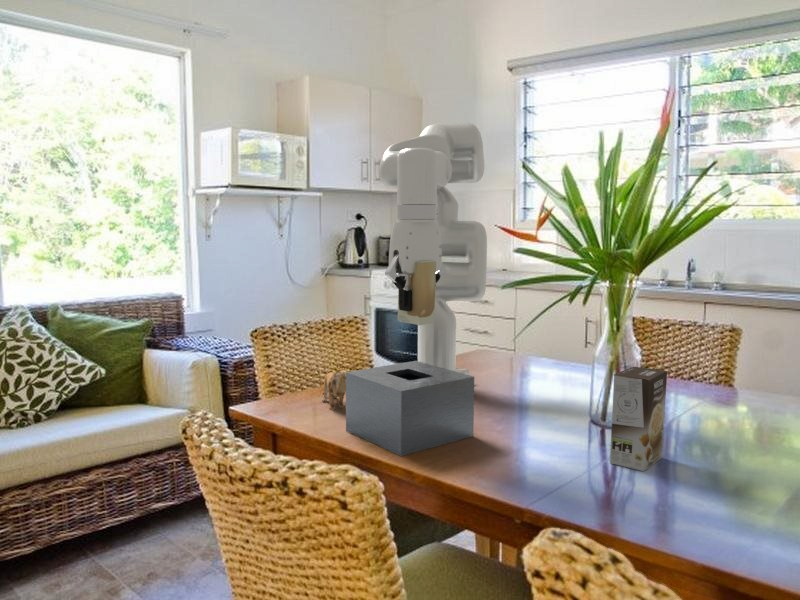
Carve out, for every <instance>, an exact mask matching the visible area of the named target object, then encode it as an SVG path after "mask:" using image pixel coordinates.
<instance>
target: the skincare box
mask: <svg viewBox="0 0 800 600" xmlns="http://www.w3.org/2000/svg"><path fill="white" fill-rule="evenodd" d="M435 280H436V261H421V262H417V267H416V273H415V274H413V275H412V279H411V284H410V289H409V290H411V291H412V310H411V311H403V310H400V309H399V290H398V289H397V290H398V293H397V294H398V296H397V322H400V323H406V324H411V325H417V326H418V325H425V324H431V323H434V310H435ZM404 281H405V277H404Z"/></svg>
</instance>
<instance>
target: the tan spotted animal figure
mask: <svg viewBox="0 0 800 600" xmlns="http://www.w3.org/2000/svg"><path fill="white" fill-rule="evenodd" d="M346 372H348V371H347V370H338V371H337V372H329V373H327V374H326V375H325V376H324V380H323V381H324V382H323V392H322V395H323V399H322V401H321V402H322V403H327V402H328V398H329V407H328V409H329V410H335V409H336V408H335V402H334V401H335V400H334V399H337V398H339V401H338V407H339V408H346V404H344V397H345V396H346Z"/></svg>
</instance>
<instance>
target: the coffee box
mask: <svg viewBox="0 0 800 600" xmlns="http://www.w3.org/2000/svg"><path fill="white" fill-rule="evenodd" d="M613 376H614V378H613V392H612V393H613V394H612V395H613V396H612V412H611V429H610V432H611V433H610V450H609V451H610V453H609V463H610V464H613V465H616V466H620V467H625V468H629V469H633V470H637V471H641V472H645V471H646V470H648V469H649V468H650V467H651V466H653V465H654V464H656V463H657V462H658V461H660V460H661V459H662V458H663V448H664V432H665V415H666V413H665V412H666V398H667V397H666V396H667V395H666V394H667V383H668V382H667V380H668V371H667V370H663V369H656V368H649V367H640V366H632V367H629V368H626V369H623V370H622V371H619V372H616V373H614V374H613Z"/></svg>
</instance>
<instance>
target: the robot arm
mask: <svg viewBox="0 0 800 600" xmlns="http://www.w3.org/2000/svg"><path fill="white" fill-rule="evenodd" d="M482 138H483V137H482V134H481V131H480V130H479V128H478V127H477V126H476V125H475V124H474V123H471V122H459V123H457V122H448V123H447V122H446V123H445V122H444V123H442V122H440V123H433V124H430V125H428V126H426V127H424V129H423V130H422V131H421V133H420V134H419V136H416V137H413V138H409V139H406V140H402V141H399V142H396V143H393V144H391V145H390V146H389V147H387V149H386V150H385V151H384V153H383V155H382V157H381V160H380V162H379V163H380V164H379V177H380V180H381V182H382V184H383V185H384V187H386V188H388V189H392V190H397V191H396V193H397V195H396V199H397V201H396V202H397V205H396V206H397V207H396V221H394V222H393V223H392V224H393V225H392V228H391V233H390V240H389V250H388V266H387V268H386V270H385V272H384V275H385V276H386V278H388V279H389V280H390V281H391V282H392V283H393V284H394V286H395V288H396V290H399V309H400V310H403V311H411V310H412V291H411V290H409V289H410V284H411V279H412V275H413V274H415V273H416V267H417V262H421V261H436V280H435V310H434V323H431V324H425V325H417V361H419V362H422V363H426V364H430V365H433V366H437V367H441V368H444V369H448V370H452V371H455V372H459V373H463V374H466V375H470V371H469V369H468V368H461V369H460V368H457V367H456V363H457V362H456V360H457V359H456V357H457V356H456V355H457V353H456V352H457V350H456V349H457V319H456V315H455V312H453V310H452V309H451V307H450V305H448V304H447V302H478V301H481V300H482V299H483V298H484V295H485V293H486V288H487V264H488V263H487V260H488V259H487V258H488V237H487V236H488V235H487V231H486V228H485V226H484V224H483V223H481V222H480V221H475V220H459V202H458V200H457V198H456V197H455V196H454V195H453V193H452V192H451V191H450V189H448V188H447V187H446V185H448V184H476V183H478V182H480V181H481V179H482V178H483V176H484V173H485V155H484V145H483V139H482ZM443 259H447V260H450V259H453V260H466V261H467V262H458V261H457V262H453V261H442V260H443ZM404 277H405V281H404Z"/></svg>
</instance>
